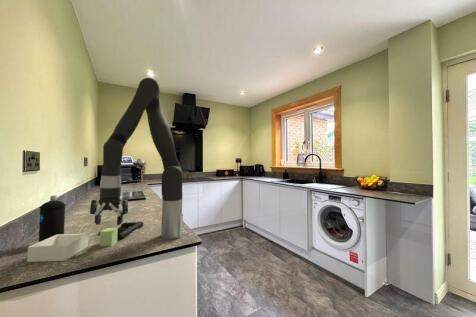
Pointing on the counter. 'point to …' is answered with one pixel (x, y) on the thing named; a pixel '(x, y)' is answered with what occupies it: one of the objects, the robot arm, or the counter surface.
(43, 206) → the aerosol can
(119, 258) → the counter surface
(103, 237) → the green block
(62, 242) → the white bin
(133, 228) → the door handle
